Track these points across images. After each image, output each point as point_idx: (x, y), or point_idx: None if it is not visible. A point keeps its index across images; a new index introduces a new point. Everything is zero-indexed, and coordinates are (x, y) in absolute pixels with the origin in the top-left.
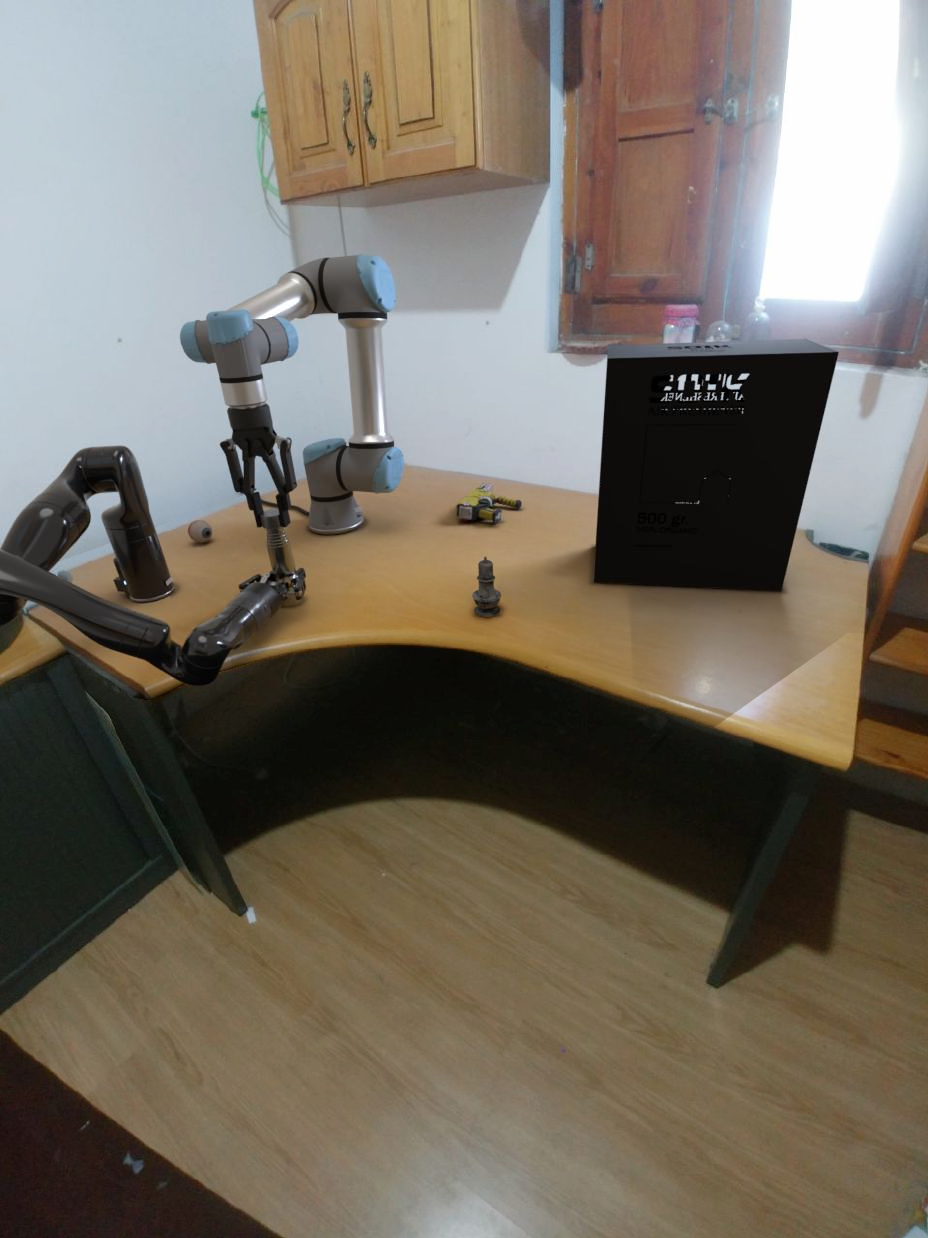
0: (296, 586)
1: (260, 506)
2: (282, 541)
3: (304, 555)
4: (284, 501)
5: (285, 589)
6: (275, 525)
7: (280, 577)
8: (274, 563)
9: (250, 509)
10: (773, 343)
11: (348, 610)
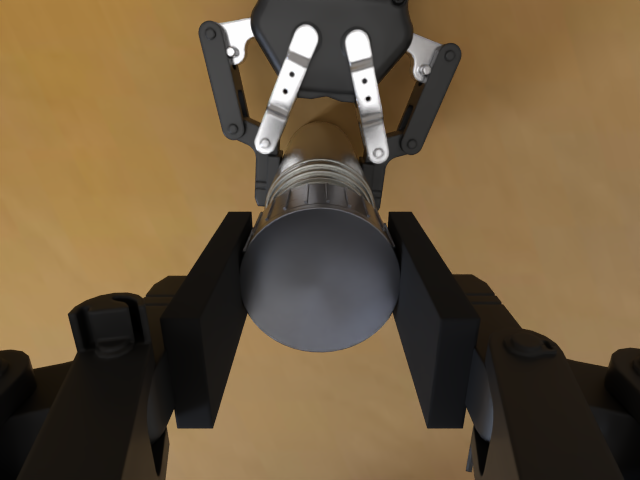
0: (217, 46)
1: (405, 322)
2: (276, 186)
3: (382, 413)
4: (160, 310)
5: (255, 25)
6: (280, 200)
7: (319, 134)
8: (332, 145)
9: (469, 276)
10: None
11: (121, 105)
